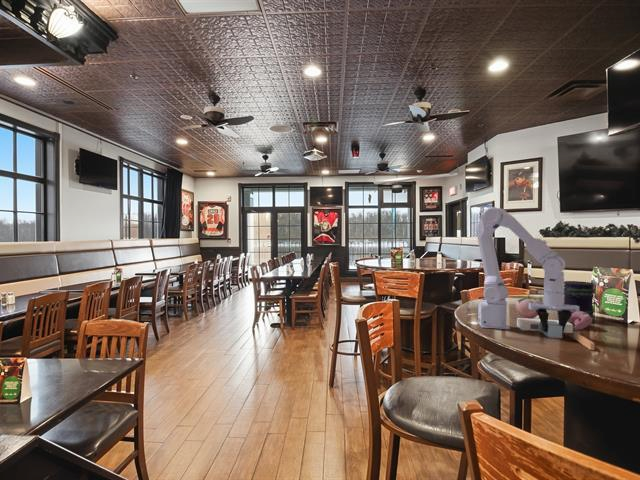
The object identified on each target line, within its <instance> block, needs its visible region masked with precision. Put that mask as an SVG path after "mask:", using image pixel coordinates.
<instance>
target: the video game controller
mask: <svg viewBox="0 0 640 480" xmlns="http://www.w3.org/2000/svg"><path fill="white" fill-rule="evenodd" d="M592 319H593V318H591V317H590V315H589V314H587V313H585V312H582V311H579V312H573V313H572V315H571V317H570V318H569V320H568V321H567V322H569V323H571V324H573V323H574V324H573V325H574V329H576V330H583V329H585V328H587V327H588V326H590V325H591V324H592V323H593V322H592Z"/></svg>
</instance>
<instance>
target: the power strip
mask: <svg viewBox="0 0 640 480" xmlns="http://www.w3.org/2000/svg"><path fill="white" fill-rule="evenodd" d="M540 321H541V320H540V318H533V319H528V318H524V317H517V318H516V327H518V329H520V330H521V331H529V330H530V332H531V331H533V332H540ZM548 321H554V322H557V323H558V324H559V320H557V319H548ZM573 331H574V324H573V323H569V322H567V323H566V326H565V328H564V332H563V333H562V334H573Z"/></svg>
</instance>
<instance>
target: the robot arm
mask: <svg viewBox="0 0 640 480" xmlns="http://www.w3.org/2000/svg"><path fill="white" fill-rule="evenodd" d="M499 227H504V228H507V229H509V230H510V231H511V232H513V233H514V234H515V235H516V237H518V238H519V239H520V240H521V241H523V243H524V244H525V250H526V251H527V252H528V253H529V254H530V255H531V256H532V257H533V258H534V259H535V260H536V262H538V263H539V264H541V266H542V269H543V271H544V277H543V302H540V303H529V309H530V310H536V312H537V314H538V316H537V317H538V319H540V320H541V323H542V327H543V331H544V332H547V331H548V320H549V315H550V313H549V312H548V311H553V312H554V311H556V312H557V318H558V320H559V325H561V326H562V334H564V333H563V332H564V328H565V326H566V323H567V321H568V320H569V318H570V317H571V315H572V313H570V311H572V312H579V306H577V305H565V304H564V302H565V296H564V288H565V287H564V285H565V284H564V281H565V278H564V277H565V273H564V270H565V268H566V265H567V264H566V261H565V259H564V258H563V257H562V256H561V255H558V252H557V251H554V250H553V249H551V247H549V245H548V242H547V241H546V240H544V239H541V238H534V237H533V235H531V233H530V232H529V231H528V230H527V229H526V228H525V227H524V226H523V225H522V223H520V222H519V221H518V220H517V218H515V217H514V216H513V215H512V214H510V213H508V211H507V210H506V209H504V208H499V207H496V206H495V207H494V206H490V207H487V208H485V209H484V210H483V212H482V213H481V214H480V220H479V222H478V225H477V228H476V233H475V234H476V237H477V243H478V248H479V251H480V258H481V262H482V266H483V267H482V268H483V272H484V276H485V277H484V282H483V287H484V290H483V293H482V295H483V297H484V301H479V302H478V307H477V308H478V309H477V311H478V313H477V319H478V320H477V323H478V325H479V326H480V327H481V328H482V329H483V328H487V329H500V330H510V329H511V327H509V326H508V324H507V319H508V318H507V315H508V314H507V313H508V312H507V310H508V304H507V303H508V302H507V300H506V299H507V298H508V296H509V289H508V287H507V285H506V284H505V281H504V279H503V277H502V276H501V273H500V267H499V263H498V257H497V254H496V248H495V244H494V242H495V241H494V239H493V234H494V232H496V230H497V229H498V228H499Z"/></svg>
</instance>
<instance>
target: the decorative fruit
mask: <svg viewBox="0 0 640 480" xmlns="http://www.w3.org/2000/svg"><path fill="white" fill-rule="evenodd" d="M541 302H542V300H541V299H540V298H538V297H534V296H531V297H530V295H529V294H527V297H519V298H518V299H517V300H516V302H515V309H516V312H517V313H518V314H519V316H520V317H521V318H528V319H536V318H537V317H539V316H538V314H537V312H536V310H530V309H529V303H541Z"/></svg>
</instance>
